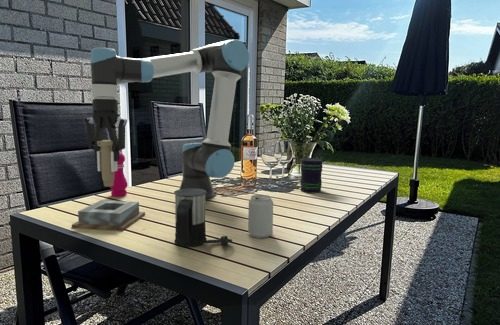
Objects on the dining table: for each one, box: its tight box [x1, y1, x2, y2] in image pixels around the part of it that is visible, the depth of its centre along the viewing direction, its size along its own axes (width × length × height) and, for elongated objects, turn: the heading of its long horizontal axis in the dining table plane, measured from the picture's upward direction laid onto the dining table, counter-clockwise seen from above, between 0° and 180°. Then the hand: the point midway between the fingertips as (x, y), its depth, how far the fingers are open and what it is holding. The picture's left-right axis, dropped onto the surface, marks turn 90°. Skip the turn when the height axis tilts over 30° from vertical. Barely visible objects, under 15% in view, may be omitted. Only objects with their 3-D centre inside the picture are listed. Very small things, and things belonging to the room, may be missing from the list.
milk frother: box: [173, 188, 233, 248], centre depth 102 cm, size 14×16×15 cm
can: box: [247, 194, 274, 239], centre depth 110 cm, size 8×8×12 cm
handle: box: [97, 139, 114, 188], centre depth 119 cm, size 5×6×15 cm
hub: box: [71, 199, 146, 232], centre depth 121 cm, size 17×17×5 cm
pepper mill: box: [109, 152, 128, 198], centre depth 155 cm, size 7×7×20 cm
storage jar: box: [299, 157, 323, 194], centre depth 169 cm, size 10×10×15 cm
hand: (107, 170), depth 119 cm, fingers closed on handle, 4 cm apart
